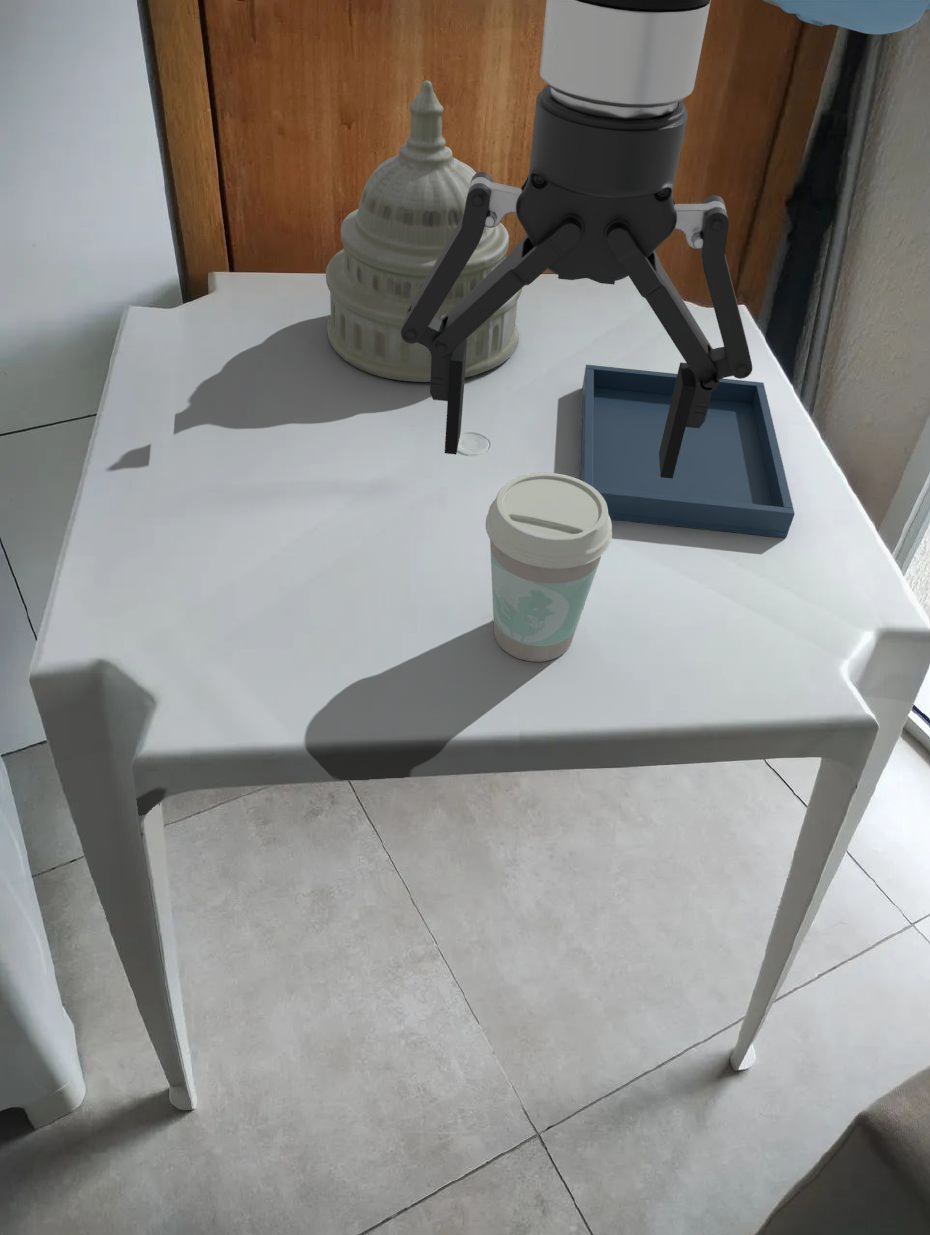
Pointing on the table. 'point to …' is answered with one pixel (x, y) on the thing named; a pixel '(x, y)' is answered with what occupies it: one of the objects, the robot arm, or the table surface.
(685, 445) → the tray
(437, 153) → the dome
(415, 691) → the table surface
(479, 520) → the table surface
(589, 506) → the coffee cup
